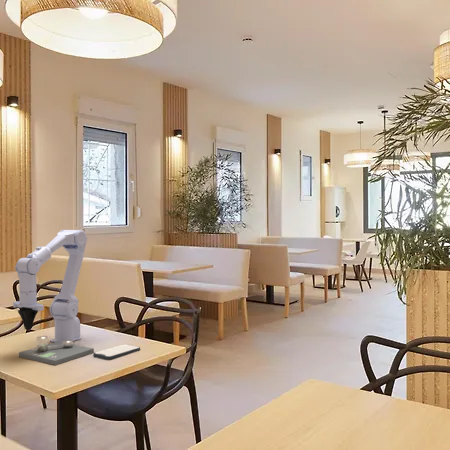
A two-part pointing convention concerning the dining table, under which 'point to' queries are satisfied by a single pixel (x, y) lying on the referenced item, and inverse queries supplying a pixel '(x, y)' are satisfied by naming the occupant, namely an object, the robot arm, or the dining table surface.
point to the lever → (43, 346)
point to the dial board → (57, 354)
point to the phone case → (116, 352)
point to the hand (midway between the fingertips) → (28, 328)
